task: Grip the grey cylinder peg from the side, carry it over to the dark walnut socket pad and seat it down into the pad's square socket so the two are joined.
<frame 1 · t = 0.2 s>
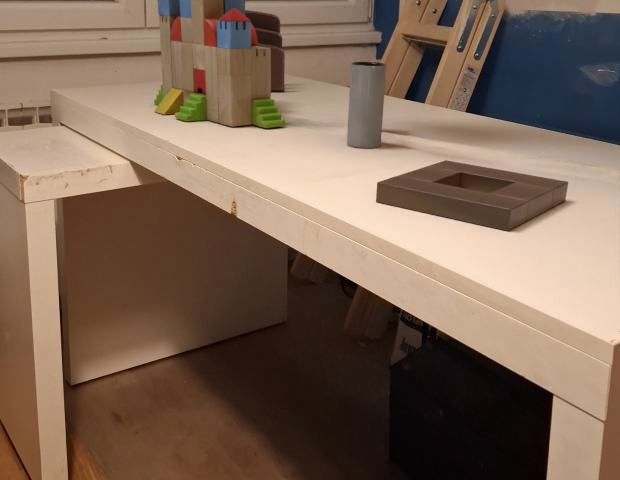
letter holder: (231, 89, 148), on the table
socket pad: (472, 201, 77), on the table
block set: (214, 116, 119), on the table
grey cylinder peg: (363, 146, 101), on the table
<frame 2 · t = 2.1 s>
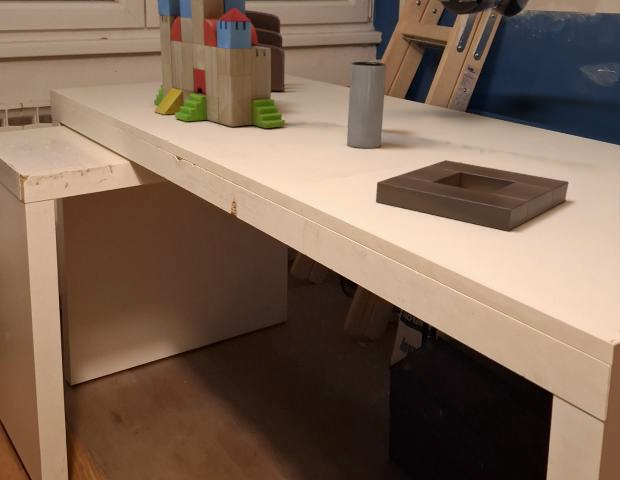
nothing on the table moved.
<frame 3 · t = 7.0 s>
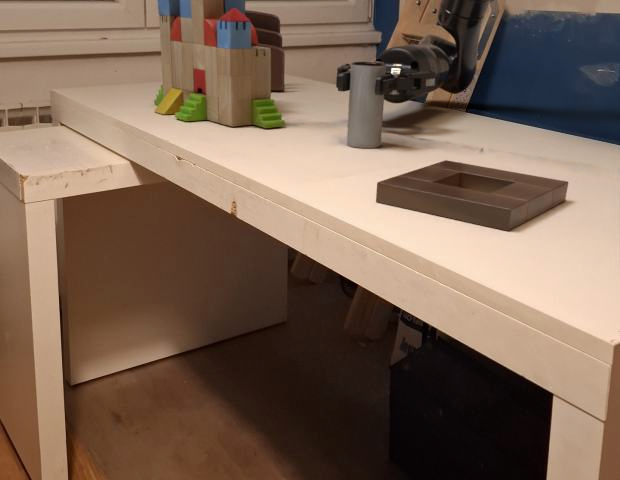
hand: (359, 84, 95), 8 cm above the table, tool horizontal, fingers closed on grey cylinder peg, 4 cm apart
grey cylinder peg: (363, 146, 101), on the table, touching gripper
everything else where it was.
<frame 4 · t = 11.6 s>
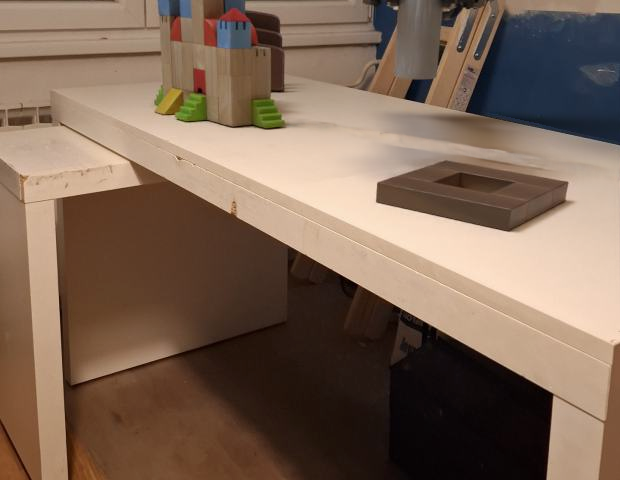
grey cylinder peg: (414, 78, 81), point 11 cm above the table, touching gripper
everything else where it was.
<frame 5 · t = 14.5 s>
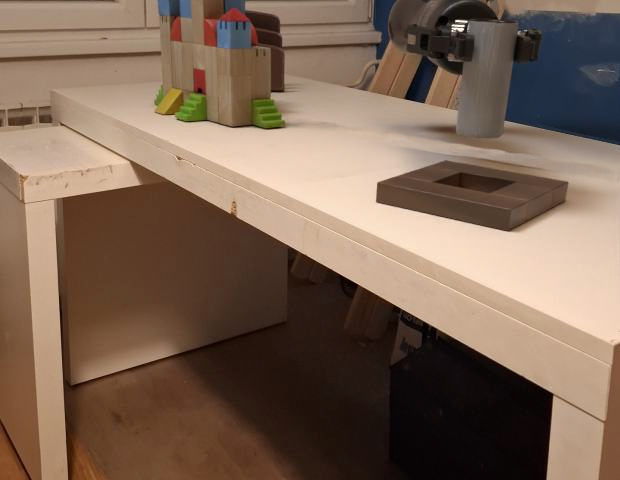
hand: (498, 50, 68), 15 cm above the table, tool horizontal, fingers closed on grey cylinder peg, 4 cm apart
grey cylinder peg: (478, 136, 74), point 6 cm above the table, touching gripper
everything else where it was.
when the fingers open (8 cm above the table, at t = 16.7 s): grey cylinder peg stays where it is, resting in socket pad.
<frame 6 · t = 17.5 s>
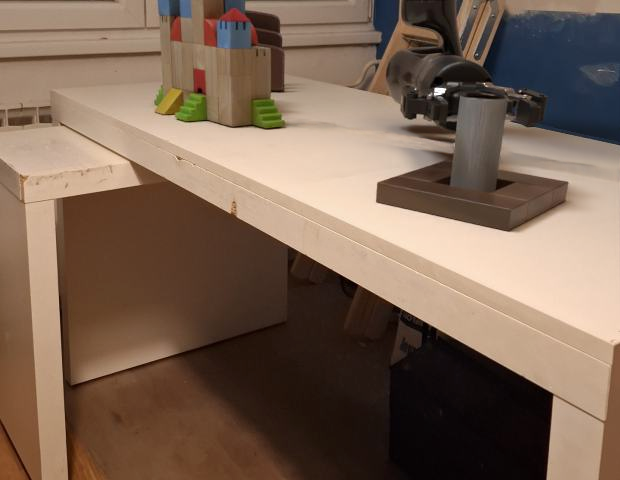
hand: (488, 115, 71), 9 cm above the table, tool horizontal, fingers open, 8 cm apart
grey cylinder peg: (470, 202, 77), resting in socket pad
everything else where it was.
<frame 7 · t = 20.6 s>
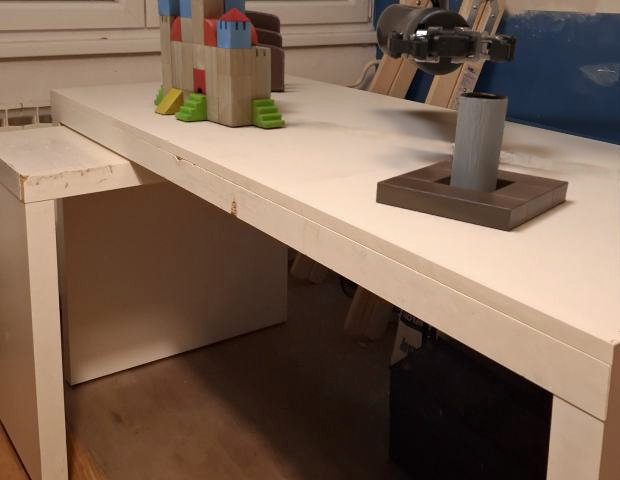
hand: (463, 51, 81), 13 cm above the table, tool horizontal, fingers open, 8 cm apart
nothing on the table moved.
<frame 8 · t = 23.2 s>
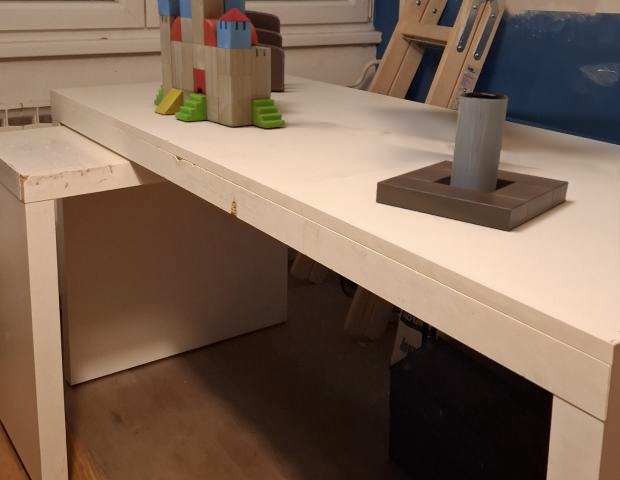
nothing on the table moved.
at the end: grey cylinder peg 0.1 cm off-centre in the socket pad, point 0.0 cm above the socket pad's base; grey cylinder peg tilted 0°; the gripper is holding nothing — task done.
